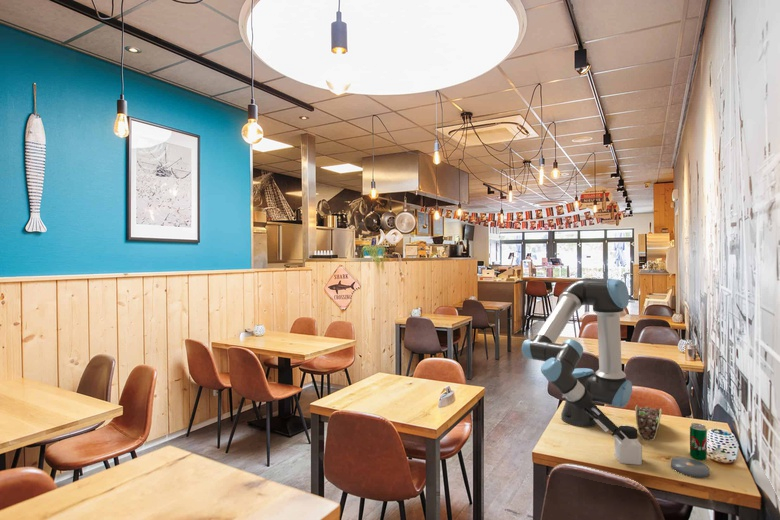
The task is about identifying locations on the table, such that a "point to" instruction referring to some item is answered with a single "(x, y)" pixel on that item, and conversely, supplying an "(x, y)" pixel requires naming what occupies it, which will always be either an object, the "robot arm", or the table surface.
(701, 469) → the disc
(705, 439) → the soda can
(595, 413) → the robot arm
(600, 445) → the table surface
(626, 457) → the medicine bottle
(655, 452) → the table surface
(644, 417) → the taco
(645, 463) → the table surface
